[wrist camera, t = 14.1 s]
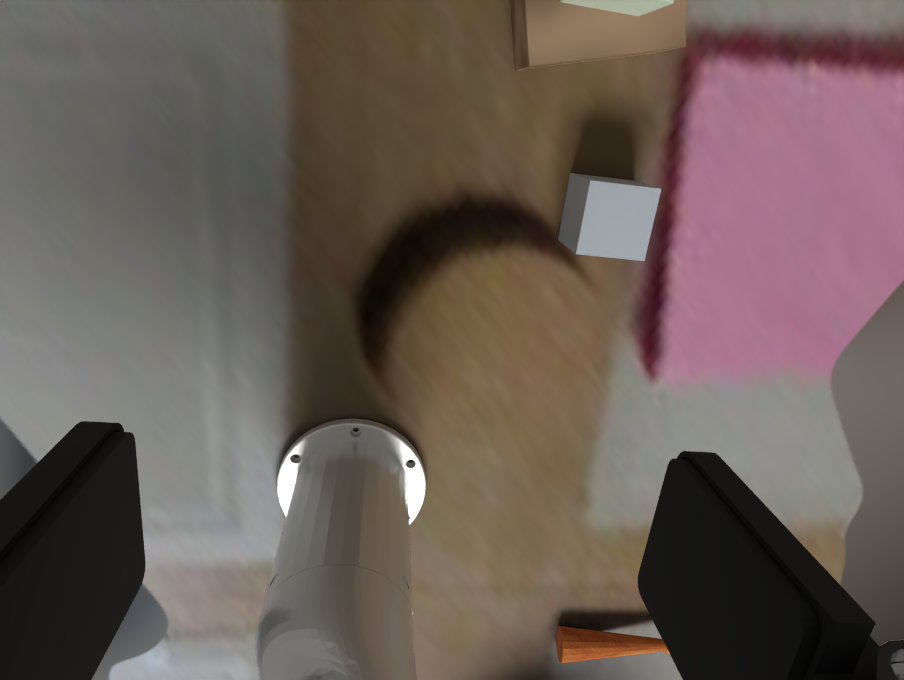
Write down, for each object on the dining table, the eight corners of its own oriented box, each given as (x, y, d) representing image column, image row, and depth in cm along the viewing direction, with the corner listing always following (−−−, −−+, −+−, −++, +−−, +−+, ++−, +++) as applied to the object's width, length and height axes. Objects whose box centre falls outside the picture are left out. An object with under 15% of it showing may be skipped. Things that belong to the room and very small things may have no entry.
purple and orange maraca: (567, 636, 56) (779, 638, 57) (555, 598, 62) (747, 600, 62) (563, 693, 57) (772, 694, 58) (552, 650, 63) (741, 652, 63)
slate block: (619, 245, 47) (644, 260, 42) (557, 239, 46) (576, 254, 42) (633, 180, 45) (661, 188, 41) (569, 172, 45) (590, 180, 40)
